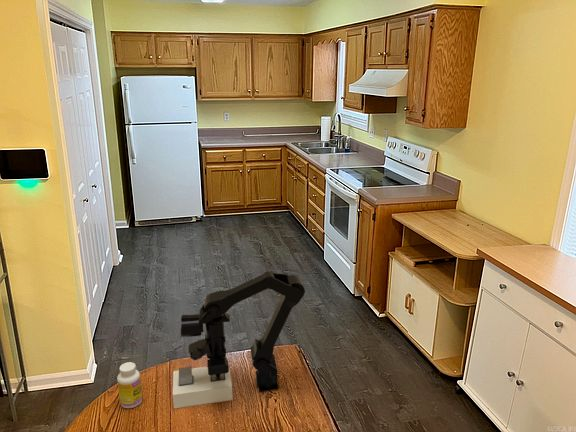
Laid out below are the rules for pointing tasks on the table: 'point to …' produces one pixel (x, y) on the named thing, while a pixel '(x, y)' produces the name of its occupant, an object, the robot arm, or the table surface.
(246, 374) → the table surface
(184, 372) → the peg
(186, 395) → the bore block
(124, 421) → the table surface
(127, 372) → the supplement bottle
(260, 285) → the robot arm
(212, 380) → the peg
